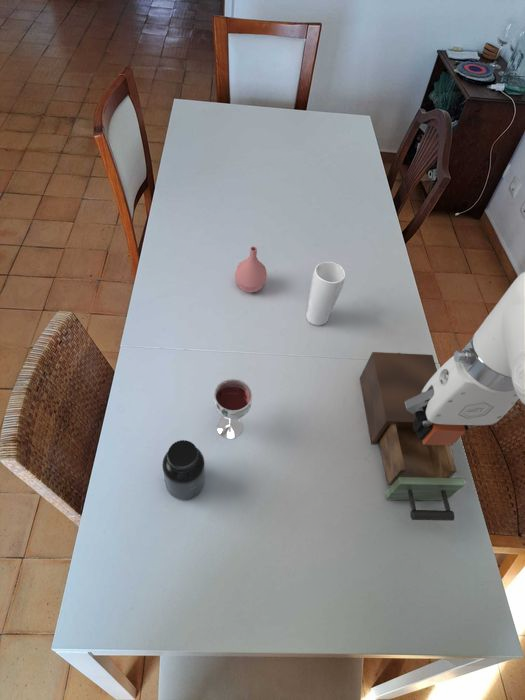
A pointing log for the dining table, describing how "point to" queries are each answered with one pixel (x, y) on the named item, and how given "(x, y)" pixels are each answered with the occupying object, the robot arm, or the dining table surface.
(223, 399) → the wineglass
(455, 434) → the block
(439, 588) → the dining table surface
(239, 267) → the pink bulb vase
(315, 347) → the dining table surface
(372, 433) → the cabinet
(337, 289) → the drinking glass
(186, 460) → the supplement bottle
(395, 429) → the drawer
